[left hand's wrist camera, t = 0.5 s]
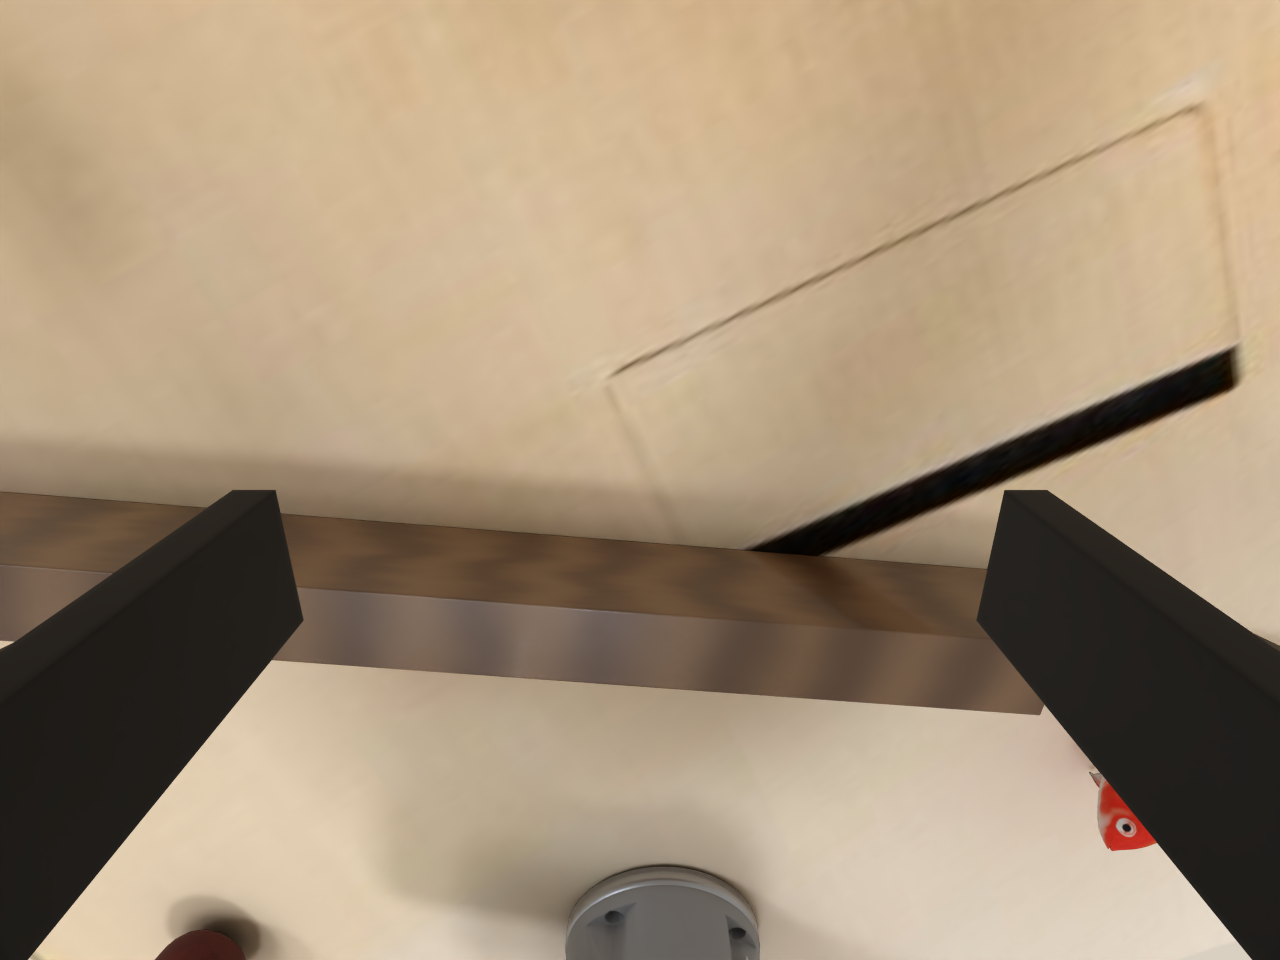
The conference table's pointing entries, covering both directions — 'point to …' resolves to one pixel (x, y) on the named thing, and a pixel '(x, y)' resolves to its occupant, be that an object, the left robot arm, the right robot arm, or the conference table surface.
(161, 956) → the dark red ball
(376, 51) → the conference table surface
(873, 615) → the bar
